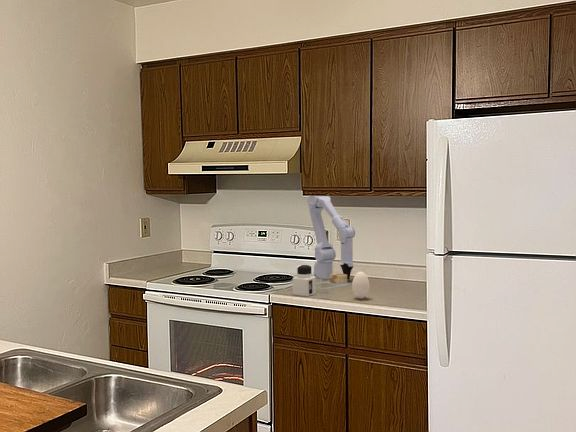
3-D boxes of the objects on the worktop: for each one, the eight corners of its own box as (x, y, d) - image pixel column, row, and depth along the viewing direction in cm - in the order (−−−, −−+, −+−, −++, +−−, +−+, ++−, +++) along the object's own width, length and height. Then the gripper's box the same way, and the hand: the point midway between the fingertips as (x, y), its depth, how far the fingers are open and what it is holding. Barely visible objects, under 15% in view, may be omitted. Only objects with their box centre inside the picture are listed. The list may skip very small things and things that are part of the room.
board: (304, 287, 288) (304, 285, 288) (335, 281, 302) (335, 279, 302) (324, 291, 277) (324, 289, 277) (356, 285, 291) (356, 283, 291)
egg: (359, 296, 266) (359, 269, 265) (373, 298, 261) (373, 271, 260) (348, 298, 261) (348, 271, 260) (362, 301, 256) (361, 273, 255)
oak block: (329, 282, 293) (329, 274, 293) (338, 281, 297) (338, 273, 297) (338, 284, 289) (338, 276, 289) (347, 282, 293) (347, 274, 293)
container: (316, 293, 273) (316, 265, 272) (306, 296, 266) (306, 267, 265) (301, 291, 277) (301, 263, 276) (292, 294, 271) (292, 265, 270)
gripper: (334, 250, 302) (335, 277, 303) (342, 253, 288) (342, 282, 289) (348, 249, 304) (348, 276, 305) (357, 253, 289) (357, 281, 290)
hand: (346, 279), depth 297 cm, fingers closed
